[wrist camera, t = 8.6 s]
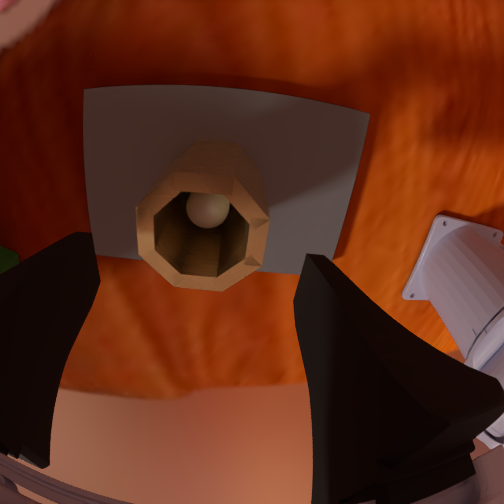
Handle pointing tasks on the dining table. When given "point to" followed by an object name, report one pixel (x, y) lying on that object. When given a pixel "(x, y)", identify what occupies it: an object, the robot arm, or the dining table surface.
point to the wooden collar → (197, 238)
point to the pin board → (224, 130)
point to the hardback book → (7, 259)
